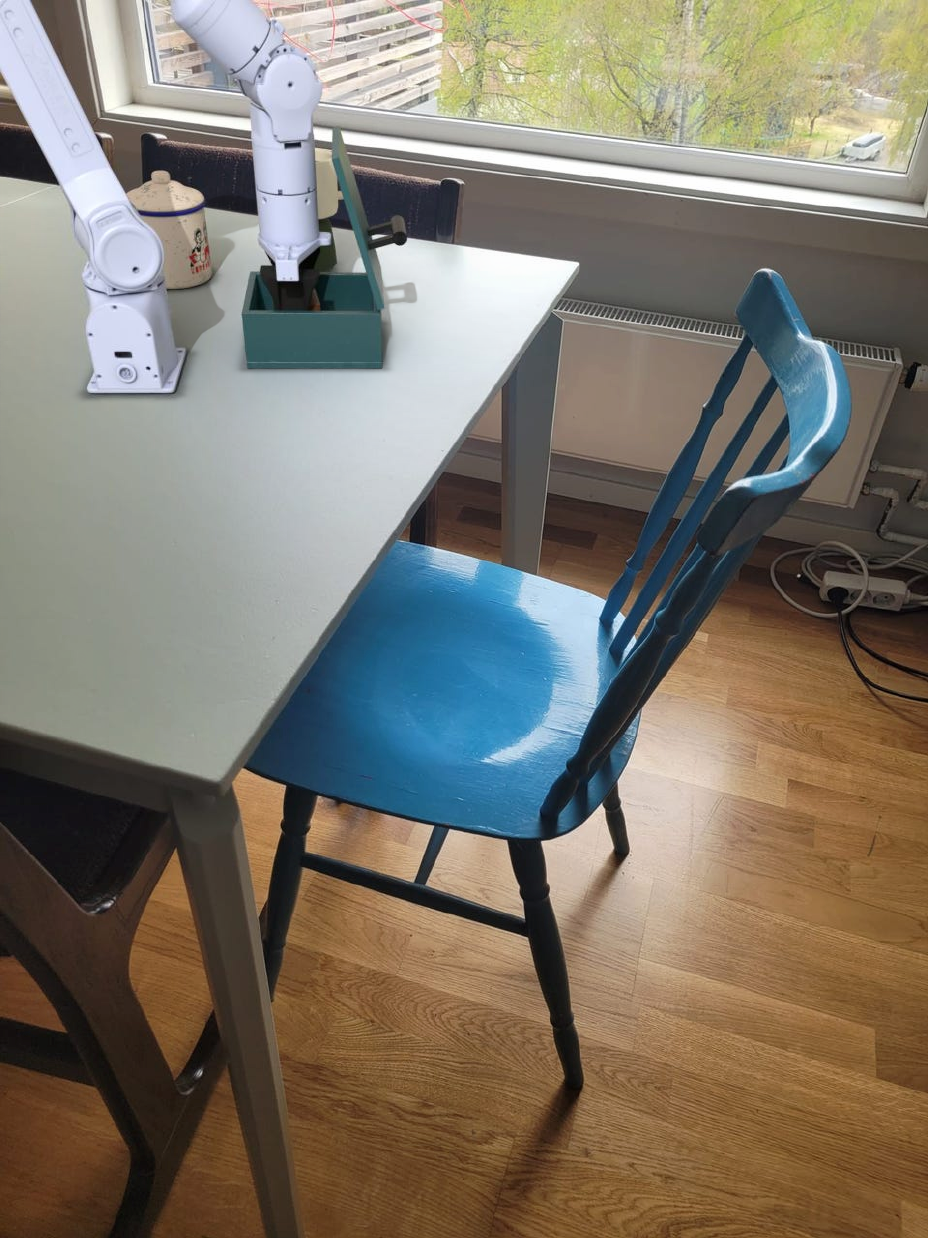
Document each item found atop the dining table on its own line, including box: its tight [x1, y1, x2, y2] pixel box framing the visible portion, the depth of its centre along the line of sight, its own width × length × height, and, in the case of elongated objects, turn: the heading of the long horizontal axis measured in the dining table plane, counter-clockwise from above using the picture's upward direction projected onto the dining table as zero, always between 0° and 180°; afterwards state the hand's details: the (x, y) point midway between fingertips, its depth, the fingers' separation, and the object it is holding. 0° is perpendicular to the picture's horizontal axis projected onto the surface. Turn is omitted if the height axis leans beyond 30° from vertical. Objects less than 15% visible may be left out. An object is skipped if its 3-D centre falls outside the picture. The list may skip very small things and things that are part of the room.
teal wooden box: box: [241, 270, 383, 369], centre depth 99 cm, size 13×11×6 cm
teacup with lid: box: [126, 170, 213, 290], centre depth 111 cm, size 12×9×12 cm
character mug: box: [314, 147, 344, 272], centre depth 114 cm, size 11×7×13 cm, turn 109°
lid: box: [331, 125, 408, 311], centre depth 93 cm, size 14×11×4 cm
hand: (296, 326), depth 99 cm, fingers closed on block, 5 cm apart
